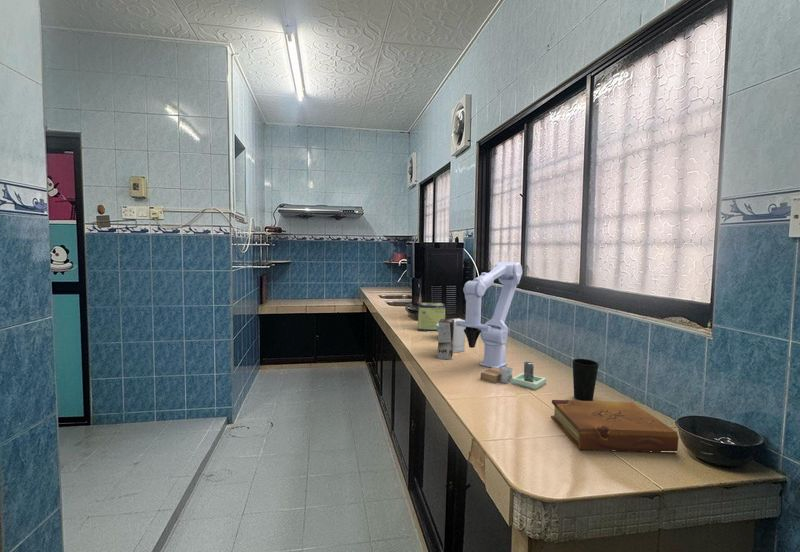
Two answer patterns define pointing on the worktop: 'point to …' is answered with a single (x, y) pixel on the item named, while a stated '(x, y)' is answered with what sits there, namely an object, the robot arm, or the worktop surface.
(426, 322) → the protein box
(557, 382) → the worktop surface
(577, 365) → the cup
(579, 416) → the diary
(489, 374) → the brown rectangular block
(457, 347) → the skincare box
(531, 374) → the steel pin
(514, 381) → the green tray
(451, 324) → the coffee box
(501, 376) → the block
